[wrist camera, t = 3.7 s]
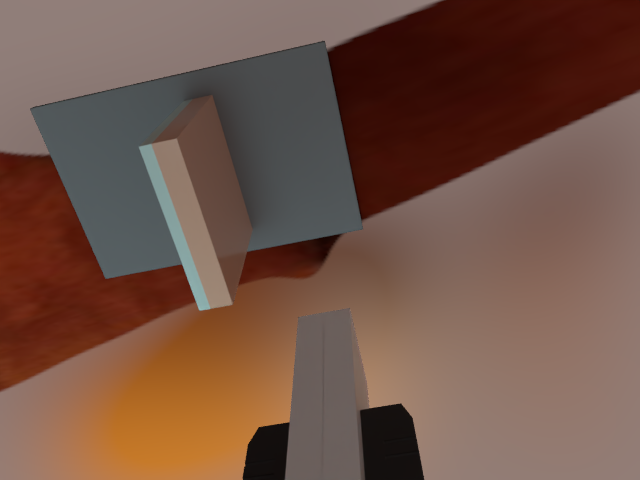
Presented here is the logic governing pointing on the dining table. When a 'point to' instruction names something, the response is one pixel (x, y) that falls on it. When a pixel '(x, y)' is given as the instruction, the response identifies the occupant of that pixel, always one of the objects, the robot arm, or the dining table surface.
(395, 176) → the dining table surface
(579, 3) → the dining table surface
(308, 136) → the mat
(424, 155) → the dining table surface
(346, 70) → the dining table surface
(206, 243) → the tile
